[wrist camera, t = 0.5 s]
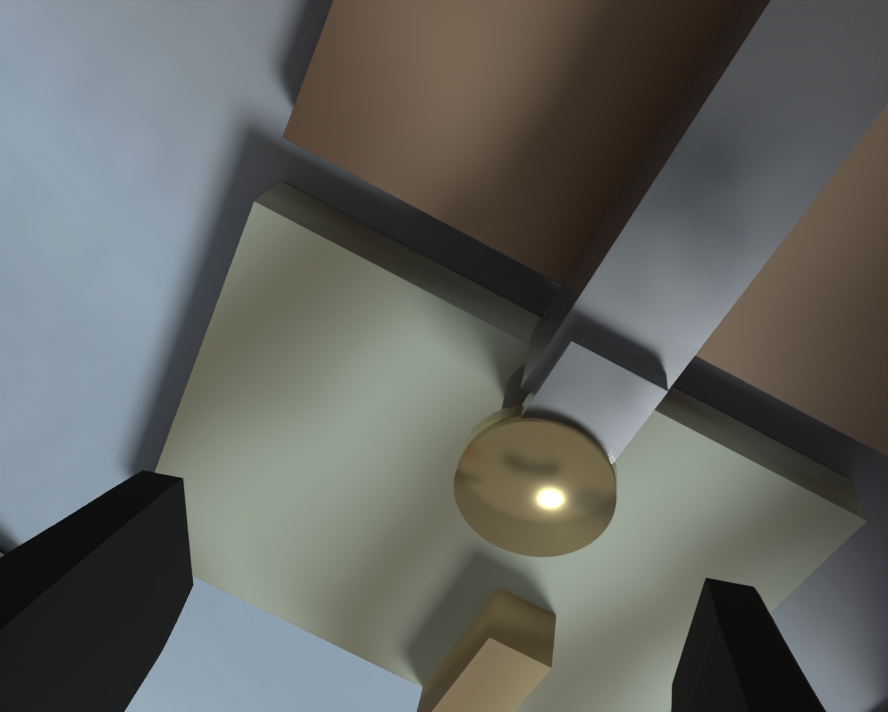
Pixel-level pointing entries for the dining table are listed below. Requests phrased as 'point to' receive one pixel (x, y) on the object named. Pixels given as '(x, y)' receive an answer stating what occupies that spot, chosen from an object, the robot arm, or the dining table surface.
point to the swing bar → (673, 261)
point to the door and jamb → (509, 364)
